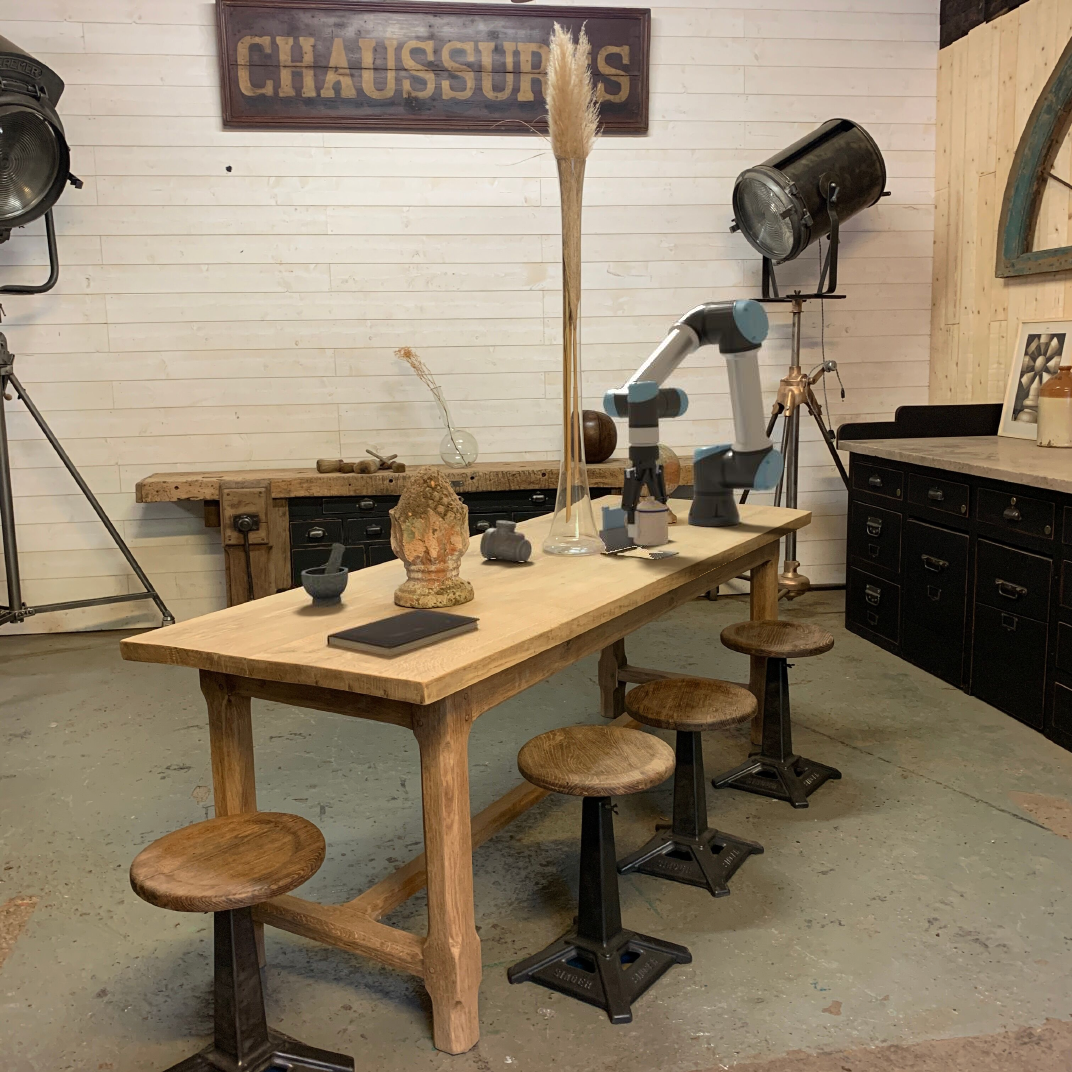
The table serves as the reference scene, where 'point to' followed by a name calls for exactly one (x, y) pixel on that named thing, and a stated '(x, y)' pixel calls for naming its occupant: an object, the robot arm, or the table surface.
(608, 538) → the bay rack
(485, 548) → the pipe fitting
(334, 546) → the mortar and pestle
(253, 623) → the table surface
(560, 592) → the table surface
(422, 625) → the hardcover book
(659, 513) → the teacup with lid
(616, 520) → the blue bezel
